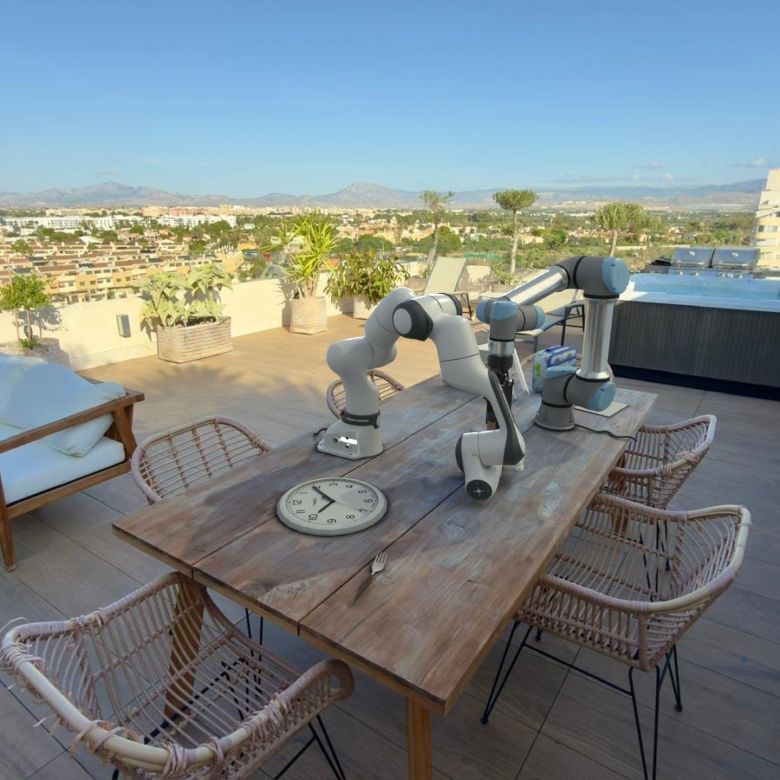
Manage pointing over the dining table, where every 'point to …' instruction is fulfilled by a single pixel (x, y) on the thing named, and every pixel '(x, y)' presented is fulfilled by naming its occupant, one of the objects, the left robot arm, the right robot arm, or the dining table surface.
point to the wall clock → (331, 506)
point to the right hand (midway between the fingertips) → (494, 426)
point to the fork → (375, 568)
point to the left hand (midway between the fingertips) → (493, 448)
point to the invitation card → (607, 409)
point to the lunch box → (551, 363)
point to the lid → (491, 416)
